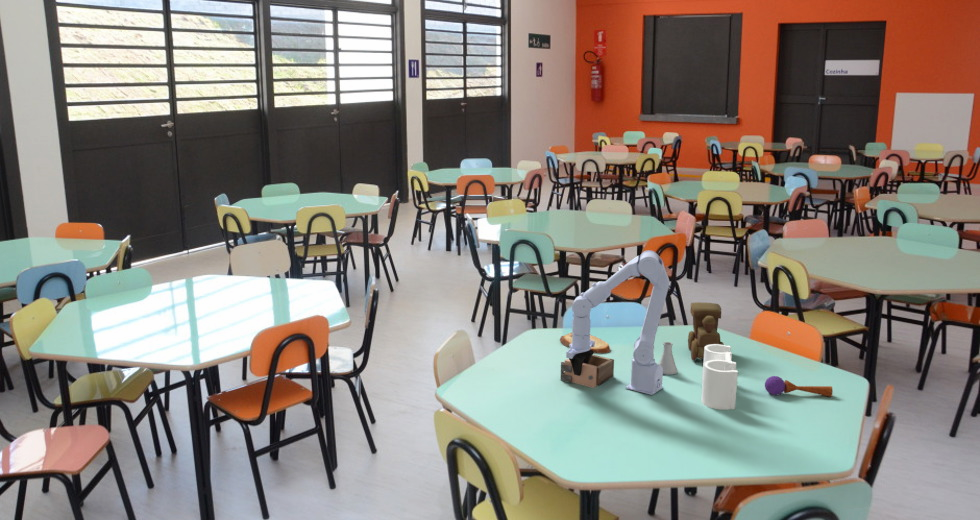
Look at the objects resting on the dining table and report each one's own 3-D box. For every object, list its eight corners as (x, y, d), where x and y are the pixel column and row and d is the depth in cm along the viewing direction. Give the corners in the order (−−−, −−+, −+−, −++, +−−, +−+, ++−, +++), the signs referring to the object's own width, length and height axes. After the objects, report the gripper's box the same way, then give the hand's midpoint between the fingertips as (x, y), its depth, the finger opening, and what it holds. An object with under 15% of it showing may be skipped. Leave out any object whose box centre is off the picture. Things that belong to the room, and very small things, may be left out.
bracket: (699, 377, 270) (701, 343, 267) (730, 380, 268) (732, 345, 265) (701, 408, 246) (704, 370, 243) (735, 410, 244) (738, 372, 241)
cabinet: (613, 376, 271) (614, 359, 269) (593, 388, 261) (594, 371, 259) (578, 367, 279) (579, 351, 277) (558, 379, 268) (558, 362, 267)
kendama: (835, 388, 251) (769, 381, 252) (830, 405, 253) (765, 397, 255) (830, 378, 256) (765, 371, 258) (826, 394, 258) (761, 387, 260)
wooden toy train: (686, 345, 301) (688, 301, 297) (717, 346, 300) (720, 302, 296) (691, 364, 282) (694, 318, 278) (725, 365, 281) (728, 319, 277)
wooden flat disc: (611, 354, 293) (612, 344, 292) (561, 353, 293) (561, 344, 292) (606, 338, 310) (607, 328, 309) (559, 337, 311) (559, 328, 310)
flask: (676, 368, 279) (677, 340, 276) (678, 375, 272) (680, 347, 269) (654, 367, 279) (656, 339, 277) (656, 375, 272) (658, 346, 270)
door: (596, 386, 263) (596, 366, 261) (592, 388, 261) (592, 368, 259) (566, 379, 269) (567, 358, 268) (563, 381, 267) (563, 361, 266)
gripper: (582, 325, 269) (581, 364, 273) (558, 336, 258) (557, 377, 261) (600, 329, 265) (599, 368, 268) (577, 341, 254) (576, 382, 257)
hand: (580, 373), depth 265 cm, fingers open, 3 cm apart
